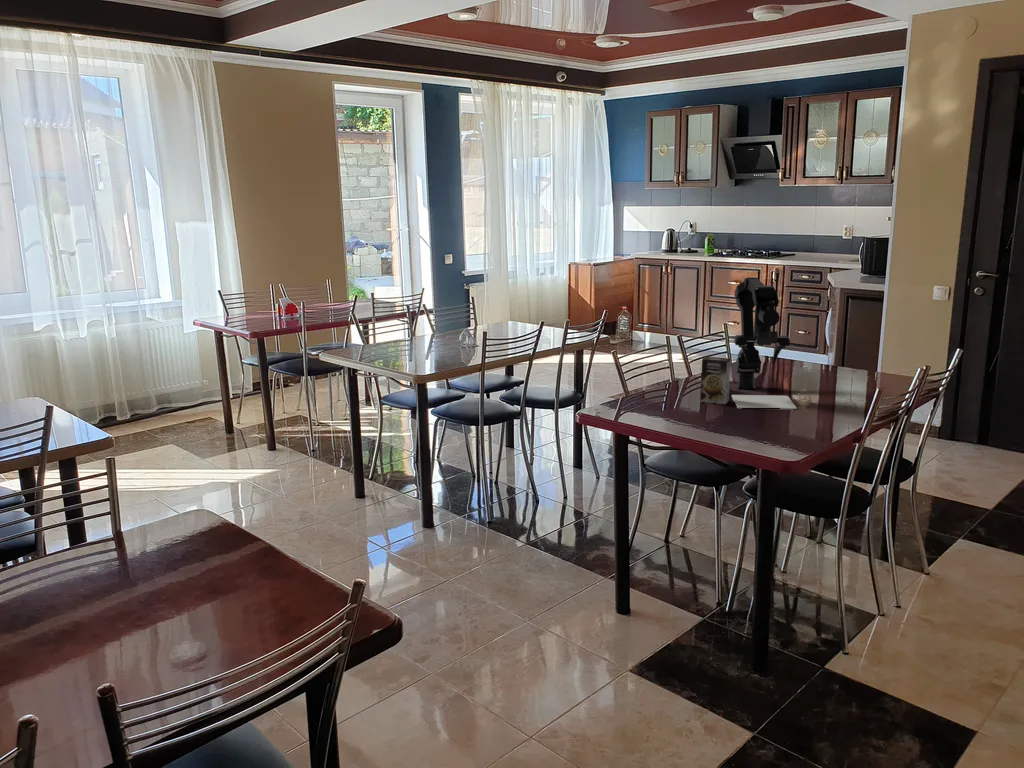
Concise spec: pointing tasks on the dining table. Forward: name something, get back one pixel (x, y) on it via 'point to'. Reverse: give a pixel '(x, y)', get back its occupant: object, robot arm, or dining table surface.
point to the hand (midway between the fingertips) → (760, 363)
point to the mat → (763, 401)
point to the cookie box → (715, 380)
